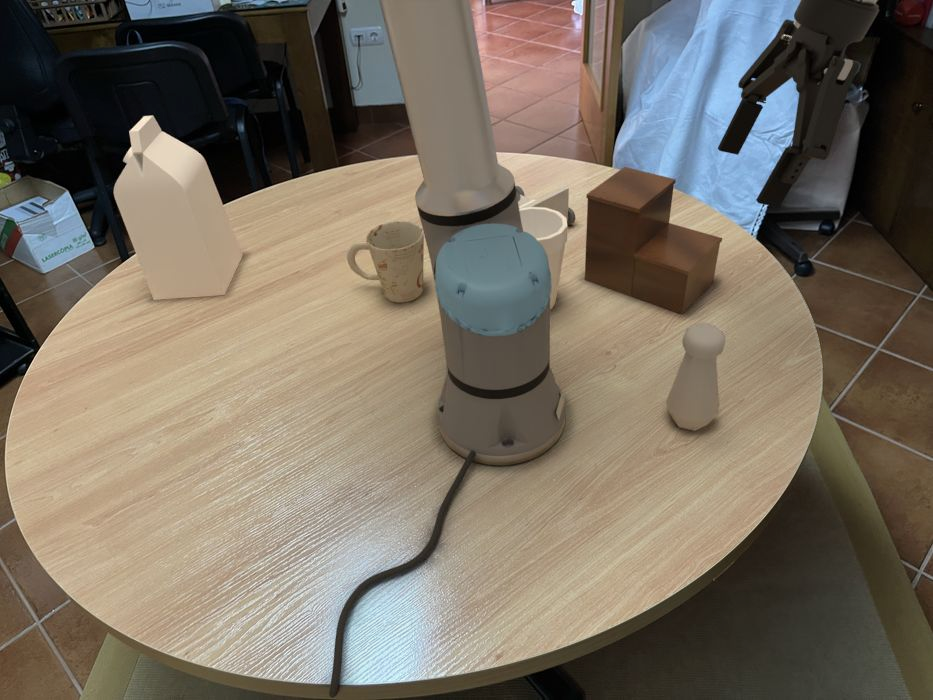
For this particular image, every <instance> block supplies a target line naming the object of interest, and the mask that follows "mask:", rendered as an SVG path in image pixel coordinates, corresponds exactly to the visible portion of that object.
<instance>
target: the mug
mask: <svg viewBox="0 0 933 700" xmlns="http://www.w3.org/2000/svg"><path fill="white" fill-rule="evenodd" d="M365 239H366V241H357V242H354V243H353V244H352V245H350V247H349V249H348V250H347V254H346V260H347V264H348V266H349V268H350V269H351V271H353V273H354V274H356V275H358V276H359V277H361V278H363V279H365V280H368V281H379V283H380V286H381V289H382V293H383V295H384V297H385V298H386V299H387V300H389V301H390V302H394V303H408V302H412V301H414V300H416V299H418V298H420V296H421V295H422V294H423V291H424V262H425V261H424V255H425V254H424V253H425V252H424V251H425V250H424V248H425V247H424V246H425V245H424V244H425V243H424V241H425V236H424V231H423V227H422V226H420V225H419V224H417V223H415V222H411V221H406V220H395V221H389V222H384V223H381V224H379V225H377V226H375V227H373V228H372V229H371V230H370V231H369V232H368V233H367V235H366V237H365ZM362 250H366V251H367V250H368V251H369V254H370V257H371V260H372V263H373V265H374V269H375V272H376V274H371V273H367V272H365V271H363V270H362V268H360V266H359V265H358V264H357V262H356V255H357V254H358V252H359V251H362Z"/></svg>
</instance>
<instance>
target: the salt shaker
mask: <svg viewBox="0 0 933 700" xmlns="http://www.w3.org/2000/svg"><path fill="white" fill-rule="evenodd" d="M681 341H682V343H681V344H682V347H683V350H684V351H685V353H684V355H683V358H682V360H681V363H680V365H679V367H678V371H677V373H676V375H675V379H674V381H673V384H672V386H671V388H670V390H669V392H668V395H667V398H666V406H667V409H668V412H669V414H670V417H671V418H672V420H673V422H674V423H675V424H676V425H677V427H678V428H681V429H685V430H689V431H693V432H696V431H698V430H700V429H703V428H705V427H707V426H709V424H710V423H711V422H712V421H713V420H714V419H715V418H716V417H717V415H718V413H719V409H720V396H719V395H720V393H719V377H718V364H717V363H718V362H717V361H718V360H717V358H718V357H719V356H720V355H722V353H723V351H724V348H725V345H726V335H725V332H724V331H723V330H722V329H720V328H719V327H718V326H717V325H714V324H711V323H708V322H698V323H694V324H692V325H690V326H689V327H687V328H686V329H685V332H684V334H683V337H682V340H681Z"/></svg>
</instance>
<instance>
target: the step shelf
mask: <svg viewBox="0 0 933 700" xmlns="http://www.w3.org/2000/svg"><path fill="white" fill-rule="evenodd" d="M675 184H676V178H673V177H667V176H664V175H660V174H656V173H652V172H647V171H643V170H639V169H637V168H636V169H635V168H632V167H627V166H623V167H622V168H621V169H619V170H618V171H616V172H615V173H614V174H613V175H611V176H610V177H608V178H607V179H606V180H604V181H603V182H602V183H600V184H599V185H597V186H596V187H595V188H593V189H592V190H591V191H588V193H586V195H585V196H586V199H587V208H586V209H587V210H586V213H587V214H586V231H585V232H586V236H585V261H584V262H585V263H584V280H585V281H587V282H591V283H593V284H596V285H599V286H601V287H605V288H606V289H610V290H613V291H615V292H618V293H621V294H623V295H625V296H626V295H627V296H630V297H632V298H635V299H638V300H641V301H644V302H647V303H648V304H652V305H655V306H658V307H661V308H663V309H665V310H669V311H672V312H674V313H678V314H681V315H683V314H684V313H685V312H686V311H687V310H688V309H689V308H690V306H691V305H693V303H694V302H695V301H696V300H697V299H698V298H699V297H700V296H701V295H702V294H703V293H704V292H705V291H706V290H707V289H708V287H710V285H712V283H714V280H715V274H716V267H717V263H718V257H719V251H720V245H721V243H722V242H723V238H722V237H720V236H716V235H714V234H713V235H712V234H709V233H705V232H702V231H700V230H699V231H698V230H695V229H692V228H689V227H685V226H681V225H678V224H674V223H671V222H670V221H671V219H670V218H671V211H672V201H673V194H674V185H675Z"/></svg>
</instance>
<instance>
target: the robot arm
mask: <svg viewBox="0 0 933 700" xmlns="http://www.w3.org/2000/svg"><path fill="white" fill-rule="evenodd" d="M378 1H379V6H380V10H381V13H382V17H383V21H384V26H385V31H386V35H387V37H388V43H389V46H390V49H391V55H392V58H393V61H394V65H395V70H396V73H397V78H398V82H399V87H400V90H401V94H402V99H403V101H404V106H405V110H406V114H407V118H408V121H409V122H408V123H409V126H410V130H411V134H412V137H413V141H414V146H415V150H416V154H417V158H418V162H419V166H420V170H421V174H422V179H423V181H422V182H421V184H419V187H418V188H417V190H416V191H415V195H414V196H415V197H414V199H415V205H416V208H417V211H418V212H417V213H418V215H419V219H420V223H421V228H422V230H423V234H424V241H425V243H426V247H427V251H428V255H429V260H430V265H431V271H432V276H433V282H434V289H435V294H436V298H437V303H438V304H437V305H438V310H439V316H440V323H441V331H442V339H443V348H444V355H445V362H446V363H445V364H446V371H447V372H446V375H445V378H444V379H445V380H444V382H443V386H442V389H441V393H440V396H439V400H438V403H437V422H438V429H439V431H440V435H441V437H442V439H443V441H444V442H445V444H447V447H449V448H450V449H451V450H452V451H454V452H455V453H456V454H457V455H459V456H461V457H463V458H465V460H464V462H463V464H462V466H461V468H460V470H459V472H458V473H457V475H456V476H455V479H454V480H453V482H452V484H451V486H450V487H449V490H448V491H447V493H446V495H445V497H444V499H443V501H442V503H441V505H440V507H439V510H438V513H437V515H436V519H435V522H434V526H433V530H432V533H431V535H430V538H429V540H428V541H427V543H426V545H425V547H424V548H423V549H422V550H421V552H419V553H418V554H417V555H416V556H414V557H413V558H411V559H410V560H408V561H407V562H404V563H402V564H400V565H397V566H395V567H392V568H389V569H385V570H383V571H380V572H378V573H376V574H373V575H371V576H370V577H368V578H367V579H365V580H364V581H362V582H361V583H360V584H359V585H358V586H357V587H356V588H355V589H353V592H352V593H351V594H350V596H349V597H348V599H347V600H346V601H345V604H344V605H343V607H342V610H341V612H340V614H339V618H338V622H337V626H336V631H335V638H334V651H333V662H332V663H333V664H332V671H331V672H332V673H331V679H330V685H329V686H330V687H329V694H328V695H329V697H330V698H335V697H336V696H337V695H338V694H339V686H340V680H341V673H342V663H343V650H344V649H343V648H344V637H345V630H346V625H347V621H348V618H349V615H350V613H351V611H352V609H353V607H354V606H355V604H356V602H357V601H358V599H359V598H360V597H361V595H363V593H364V592H365V591H366V590H367V589H369V588H370V587H371V586H373V585H375V584H377V583H378V582H380V581H384V580H385V579H389V578H392V577H395V576H398V575H401V574H402V573H406V572H407V571H410V570H411V569H414V568H415V567H417V566H418V565H419V564H421V563H422V562H424V560H425V559H426V558H428V556H429V555H430V554H431V552H433V549H434V548H435V546H436V544H437V542H438V540H439V537H440V534H441V530H442V528H443V523H444V519H445V516H446V513H447V511H448V508H449V506H450V504H451V502H452V500H453V498H454V496H455V495H456V493H457V491H458V489H459V487H460V485H461V483H462V482H463V480H464V478H465V477H466V474H467V472H468V471H469V469H470V467H471V465H472V464H473V462H474V463H478V464H482V465H488V466H489V465H490V466H511V465H516V464H517V465H518V464H520V463H524V462H528V461H531V460H532V459H533V460H534V459H535V458H537V457H539V456H541V455H543V454H544V453H546V452H547V451H548V450H550V449H551V448H552V447H553V446H554V445H555V444H556V443H557V441H558V440H559V439H560V437H561V435H562V433H563V431H564V429H565V425H566V403H565V400H566V398H565V396H564V394H563V392H562V391H561V389H560V387H559V385H558V384H557V383H556V379H555V376H554V372H553V370H552V368H551V364H550V363H551V361H550V358H551V357H550V356H551V353H550V352H551V309H550V294H551V288H552V285H551V281H552V279H551V272H550V268H549V262H548V258H547V254H546V252H545V250H544V248H543V247H542V245H541V244H540V243H539V241H538V240H537V239H536V238H535V237H533V236H532V235H531V234H529V233H527V232H523V228H522V223H521V218H520V211H519V205H518V199H517V193H516V187H515V186H516V182H515V176H514V174H513V173H512V172H511V171H510V170H509V169H508V168H507V167H505V166H503V165H501V164H500V163H499V161H498V155H497V148H496V144H495V137H494V132H493V131H494V130H493V126H492V119H491V115H490V108H489V103H488V102H489V101H488V97H487V91H486V85H485V80H484V79H485V78H484V73H483V67H482V62H481V56H480V50H479V44H478V38H477V33H476V27H475V20H474V16H473V15H474V14H473V9H472V3H471V0H378ZM877 2H878V0H800V1H799V4H798V5H797V6H796V9H795V11H794V14H793V18H794V20H791V19H788V18H787V19H785V20H784V21H783V23H782V24H781V26H780V28H779V29H778V30H777V33H776V35H775V37H774V38H773V39H772V40H771V42H770V43H769V44H768V45H767V46H766V48H765V49H763V51H762V52H761V53H760V55H759V56H758V57H757V59H756V60H755V61H754V62H753V63H752V65H751V66H750V67H749V68H748V69H747V71H746V72H745V73H744V74H743V75H742V76H741V78H740V79H739V81H738V84H737V87H738V89H741V90H742V91H741V93H740V98H741V100H740V102H739V105H738V106H737V108H736V110H735V112H734V114H733V116H732V119H731V121H730V122H729V124H728V126H727V128H726V130H725V132H724V134H723V136H722V139H721V141H720V142H719V144H718V146H717V149H718V151H719V152H723V153H729V154H731V155H732V154H733V155H737V156H738V155H739V154H740V153H741V150H742V149H743V147H744V144H745V143H746V142H747V139H748V137H749V135H750V133H751V131H752V129H753V127H754V126H755V123H756V122H757V120H758V118H759V116H760V114H761V112H762V110H763V108H764V106H763V105H762V104H767V102H766V101H767V97H769V96H770V95H772V94H773V93H774V92H775V91H777V90H778V89H779V88H780V87H782V86H783V85H785V84H786V83H788V81H789V80H791V79H792V80H793V81H794V83H795V84H796V86H795V89H796V91H797V93H798V100H797V108H796V112H795V113H796V114H795V121H794V127H793V135H792V143H791V145H789V146H787V147H785V148H784V150H783V152H782V153H781V155H780V157H779V159H778V160H777V162H776V164H775V166H774V167H773V169H772V171H771V173H770V175H769V176H768V178H767V180H766V181H765V183H764V185H763V187H762V188H761V191H760V192H759V194H758V196H757V198H756V199H755V201H756V202H757V203H758V204H761V205H764V206H769V207H774V208H780V207H781V206H782V204H783V202H784V201H785V199H786V197H787V195H788V194H789V192H790V190H791V189H792V187H793V186H794V185H795V184H796V183H797V181H798V180H799V178H800V176H801V175H802V173H803V171H804V170H805V168H806V166H807V165H808V163H809V161H810V160H812V159H817V160H822V161H825V160H826V159H828V157H829V155H830V152H831V149H832V146H833V143H834V139H835V135H836V132H837V129H838V125H839V122H840V119H841V116H842V112H843V108H844V105H845V102H846V99H847V95H848V93H849V88H850V86H851V85H852V84H851V83H852V82H853V80H854V78H855V76H856V75H857V73H858V70H859V68H860V62H859V61H857V60H853V59H849V58H847V57H844V55H845V52H846V49H847V47H848V46H849V45H850V44H852V43H854V44H856V43H860V42H862V41H863V39H864V38H865V35H866V34H867V33H868V31H869V29H870V27H871V26H872V24H873V22H874V21H875V19H876V17H877V16H878V14H879V12H880V6H879V5H878V3H877ZM753 79H754V80H753ZM819 83H820V84H819Z"/></svg>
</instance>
